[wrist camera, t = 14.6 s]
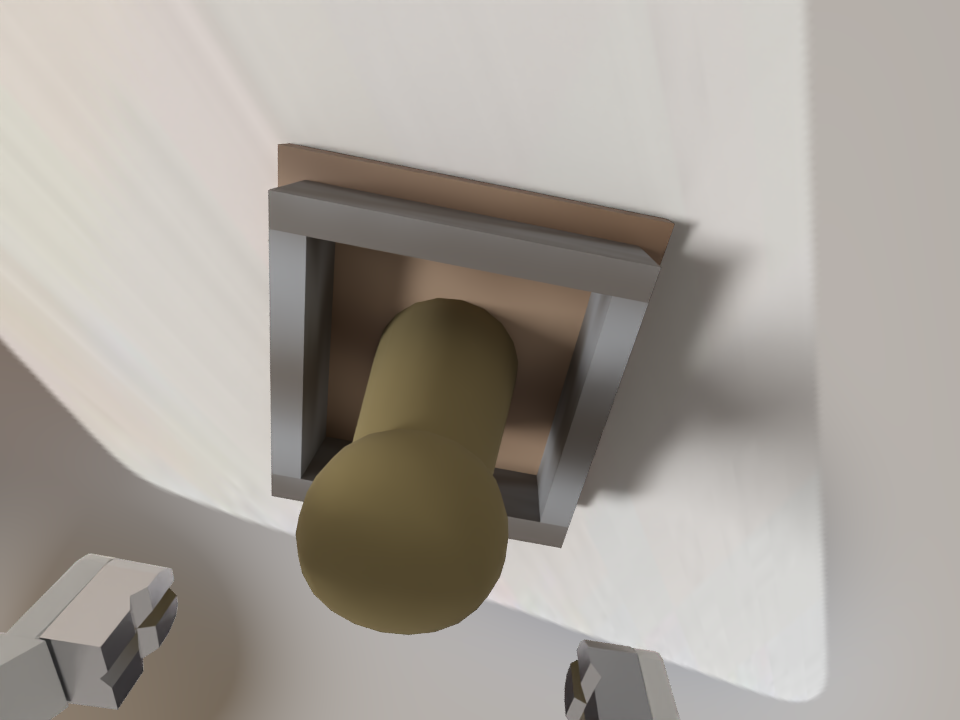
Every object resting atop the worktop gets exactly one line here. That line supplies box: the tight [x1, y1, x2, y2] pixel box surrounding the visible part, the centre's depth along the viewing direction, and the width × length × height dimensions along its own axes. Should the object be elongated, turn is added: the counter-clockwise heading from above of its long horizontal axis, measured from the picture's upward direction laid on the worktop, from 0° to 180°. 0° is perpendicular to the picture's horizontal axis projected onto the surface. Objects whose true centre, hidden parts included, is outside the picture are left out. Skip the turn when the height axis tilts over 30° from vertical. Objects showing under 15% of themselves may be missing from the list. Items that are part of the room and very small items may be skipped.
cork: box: [296, 298, 518, 635], centre depth 16 cm, size 6×6×11 cm
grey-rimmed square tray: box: [268, 143, 674, 548], centre depth 20 cm, size 14×14×4 cm
